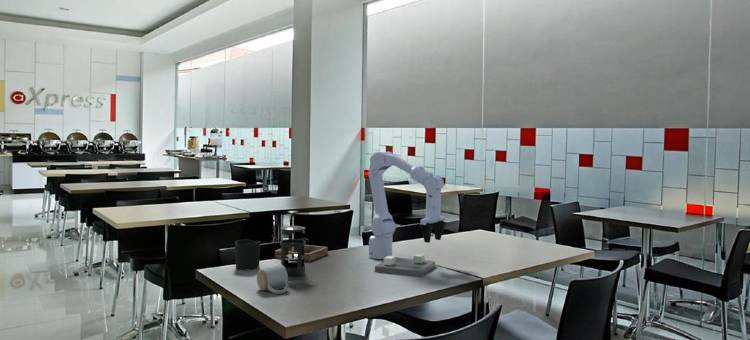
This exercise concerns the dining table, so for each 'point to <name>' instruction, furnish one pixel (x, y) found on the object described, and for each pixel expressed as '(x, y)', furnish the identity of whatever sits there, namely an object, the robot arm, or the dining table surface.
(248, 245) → the pen holder
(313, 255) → the tray
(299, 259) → the french press
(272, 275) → the ceramic mug
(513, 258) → the dining table surface
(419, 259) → the sage fader
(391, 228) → the robot arm
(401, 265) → the console
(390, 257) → the block
